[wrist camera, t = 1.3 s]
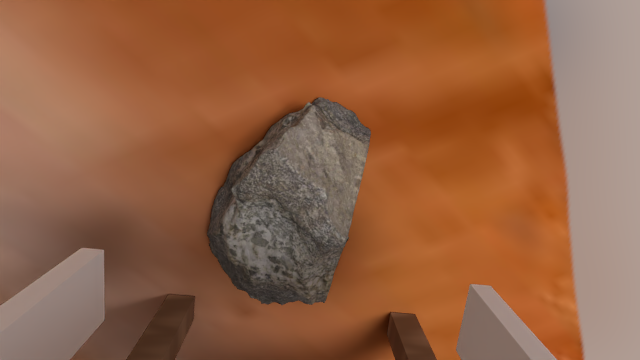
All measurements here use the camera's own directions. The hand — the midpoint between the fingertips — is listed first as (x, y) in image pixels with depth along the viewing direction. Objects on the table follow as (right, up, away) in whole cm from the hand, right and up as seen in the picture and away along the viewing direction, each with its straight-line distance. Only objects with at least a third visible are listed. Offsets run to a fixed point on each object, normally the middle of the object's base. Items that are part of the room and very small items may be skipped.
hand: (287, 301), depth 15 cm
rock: (-1, +3, +13) cm, 13 cm away
